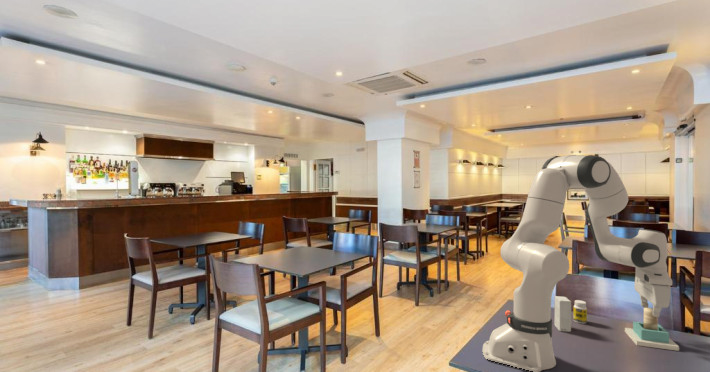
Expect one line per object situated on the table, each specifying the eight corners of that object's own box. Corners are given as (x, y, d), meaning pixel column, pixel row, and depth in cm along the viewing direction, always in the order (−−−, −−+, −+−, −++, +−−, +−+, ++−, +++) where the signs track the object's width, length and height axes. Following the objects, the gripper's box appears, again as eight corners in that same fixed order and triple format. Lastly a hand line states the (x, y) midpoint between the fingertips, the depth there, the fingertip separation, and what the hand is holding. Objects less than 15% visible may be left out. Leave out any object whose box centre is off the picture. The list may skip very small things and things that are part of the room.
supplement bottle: (574, 323, 146) (574, 302, 146) (572, 318, 151) (572, 299, 150) (588, 324, 145) (588, 304, 144) (585, 320, 149) (585, 300, 149)
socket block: (636, 345, 127) (636, 331, 127) (624, 331, 138) (625, 318, 138) (679, 350, 122) (679, 336, 122) (663, 336, 134) (663, 323, 133)
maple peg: (645, 338, 129) (646, 310, 129) (641, 333, 133) (641, 307, 132) (659, 339, 127) (659, 312, 127) (654, 335, 131) (655, 308, 131)
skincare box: (571, 332, 138) (571, 301, 137) (559, 331, 139) (559, 300, 138) (565, 325, 144) (565, 296, 143) (554, 324, 145) (554, 295, 144)
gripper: (629, 266, 140) (629, 301, 141) (651, 280, 121) (650, 320, 122) (649, 268, 138) (648, 303, 138) (675, 282, 119) (674, 323, 119)
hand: (649, 311), depth 130 cm, fingers open, 8 cm apart
